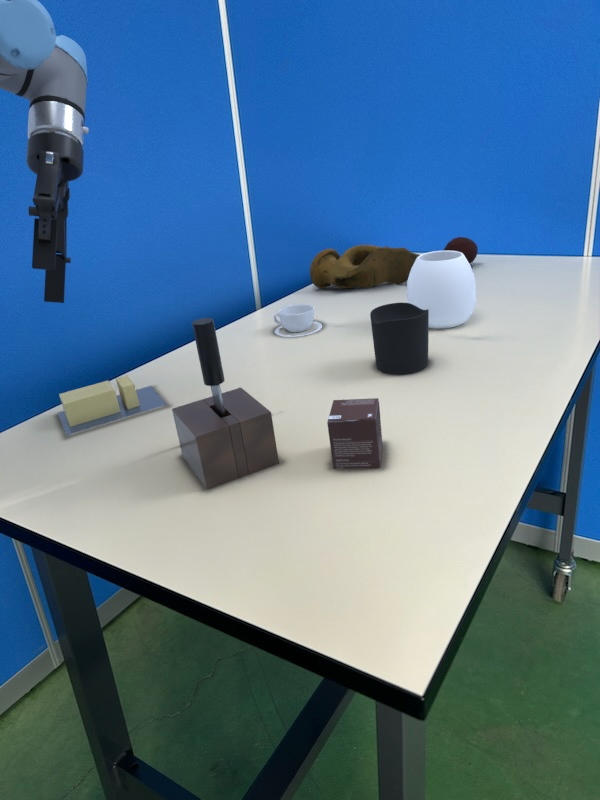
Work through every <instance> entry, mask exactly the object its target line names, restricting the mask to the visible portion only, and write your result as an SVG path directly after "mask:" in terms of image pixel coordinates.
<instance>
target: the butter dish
mask: <svg viewBox="0 0 600 800" xmlns="http://www.w3.org/2000/svg"><path fill="white" fill-rule="evenodd" d="M136 393H137V397H138V401H139V404H140V406H138V407H135V408H131V409H127V407H126V406H125V404H124V403H123V401H122V400H121V397H120V394H116V397H117V400H118V404H119V408H120V411H121V412H118V413H115V414H112V415H108V416H105V417H102V418H98V419H95V420H92V421H89V422H85V423H82V424H79V425H75V426H72V427H70V425H69V423H68V420H67V418H66V415H65V412H64V410H62V411H58V412H57V415H58V417H59V420H60V423H61V425H62V428H63V430H64V433H65V435H66V436H68V435H72V434H75V433H78V432H82V431H85V430H88V429H91V428H94V427H98V426H101V425H105V424H107V423H111V422H114V421H118V420H121V419H125V418H128V417H131V416H134V415H137V414H140V413H144V412H147V411H150V410H154V409H157V408H160V407H163V406H166V405H167V403H166V402H165V401H164V400H163V398H162V397H161V396H160V395H159V394H158V392H156V390H155V389H154V388H153V387H152V386H151V385H149V386H145V387H142V388H138V389H136Z"/></svg>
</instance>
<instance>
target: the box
mask: <svg viewBox="0 0 600 800" xmlns="http://www.w3.org/2000/svg"><path fill="white" fill-rule="evenodd" d="M326 422H327V424H326V425H327V430H328V431H327V433H328V437H329V444H330V453H331V461H332V467H333V469H334V470H358V469H360V470H361V469H362V470H363V469H381V468H382V457H383V445H384V444H383V434H382V423H381V422H382V421H381V408H380V400H379V398H378V397H375V398H355V399H354V398H352V399H333V401H332V404H331V408H330V411H329V415H328V419H327V421H326Z"/></svg>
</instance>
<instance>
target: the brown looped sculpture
mask: <svg viewBox="0 0 600 800" xmlns="http://www.w3.org/2000/svg"><path fill="white" fill-rule="evenodd" d="M420 255H421V254H418V253H414V252H412V251H410V250H409V249H407V248H406V247H404V246H403V247H390V246H383V247H382V246H378V245H374V244H373V245H372V244H358V245H354V246H352V247H349V248H348V249H346V250H345V251H344V252H343V253H342V254H341V255H340V254H339V252H338V251H337V250H336V249H334V248H326V249H323V250H321V251H319V252H318V253H316V255H315V256H314V257H313V259H312V260H311V263H310V268H309V277H310V280H311V283H312V284H313V286H314V287H316V288H318V289H321V290H322V289H326V288H329V287H330V286H334V287H335V288H340V289H353V288H362V289H363V288H364V289H370V288H373V287H374V286H378V285H382V284H394V285H397V286H399V285H402V284H404V283H406V282H407V281H408V277H409V274H410V271H411V268H412V266H413V264H414V262H415V260H416V258H417V257H418V256H420Z"/></svg>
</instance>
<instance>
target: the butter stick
mask: <svg viewBox="0 0 600 800" xmlns="http://www.w3.org/2000/svg"><path fill="white" fill-rule="evenodd" d="M58 395H59V396H58V397H59V399H60V403H61V405H62V409H63V411H64V412H65V415H66V418H67V420H68V423H69V425H70V427H72V426H75V425H79V424H82V423H85V422H89V421H92V420H95V419H98V418H102V417H105V416H108V415H112V414H115V413H118V412H121V411H120V408H119V404H118V400H117V397H116V396H117V393H116V390H115V388H114V386H113V385H112V383H111V382H110V381H109V380H104V381H101V382H97V383H94V384H91V385H87V386H83V387H80V388H76V389H72V390H67V391H66V392H62V393H58Z"/></svg>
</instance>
